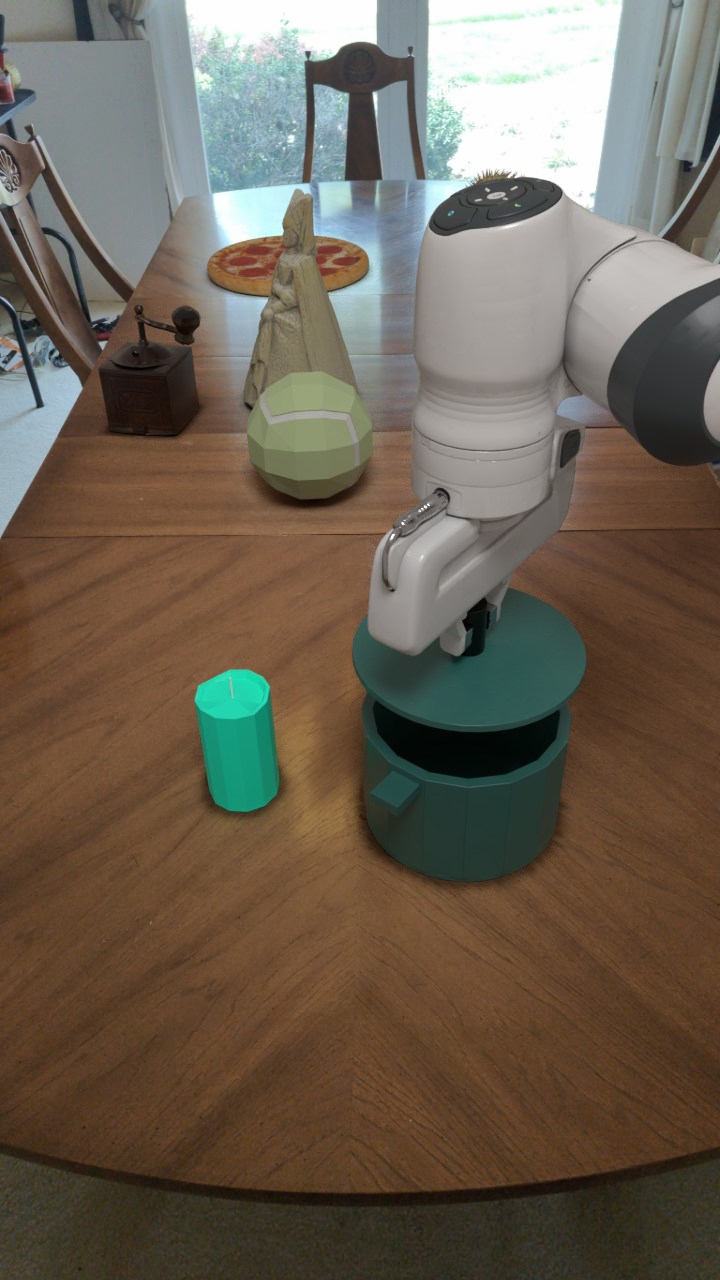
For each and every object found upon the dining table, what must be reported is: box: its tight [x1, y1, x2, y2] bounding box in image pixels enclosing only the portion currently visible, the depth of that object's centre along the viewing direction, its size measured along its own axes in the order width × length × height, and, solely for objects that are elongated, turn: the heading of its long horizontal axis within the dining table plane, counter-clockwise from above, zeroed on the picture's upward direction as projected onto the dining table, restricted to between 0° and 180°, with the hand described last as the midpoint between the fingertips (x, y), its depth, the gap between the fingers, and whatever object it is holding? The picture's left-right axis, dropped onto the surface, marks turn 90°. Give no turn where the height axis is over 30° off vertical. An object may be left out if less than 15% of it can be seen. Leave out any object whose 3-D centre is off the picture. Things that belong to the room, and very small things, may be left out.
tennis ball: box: [246, 371, 374, 500], centre depth 120 cm, size 15×15×15 cm
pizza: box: [206, 234, 370, 297], centre depth 194 cm, size 32×32×3 cm
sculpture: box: [243, 188, 359, 409], centre depth 141 cm, size 17×18×30 cm
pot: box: [360, 691, 573, 883], centre depth 78 cm, size 16×21×10 cm
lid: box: [351, 587, 587, 732], centre depth 70 cm, size 17×17×5 cm
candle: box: [194, 669, 281, 813], centre depth 80 cm, size 6×6×12 cm
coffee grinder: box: [97, 303, 202, 436], centre depth 136 cm, size 16×11×18 cm
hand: (470, 635), depth 71 cm, fingers closed on lid, 2 cm apart
